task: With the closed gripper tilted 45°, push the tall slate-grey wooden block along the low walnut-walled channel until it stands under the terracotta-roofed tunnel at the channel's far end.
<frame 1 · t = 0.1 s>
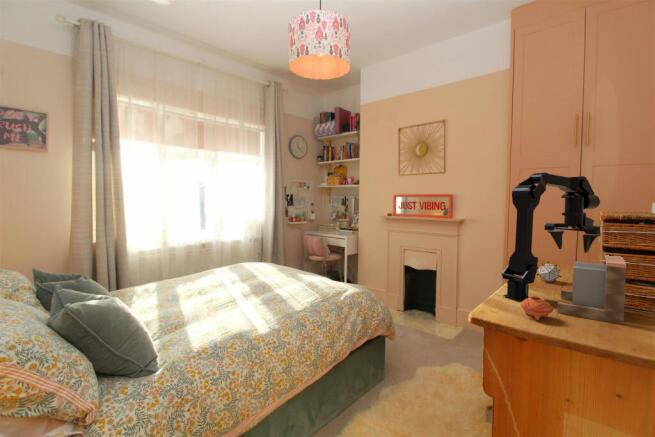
hand: (572, 250, 120), 15 cm above the table, tool pointing down, fingers open, 9 cm apart
tall block: (590, 310, 99), on the table
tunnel: (612, 313, 96), on the table
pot: (536, 318, 94), on the table
game die: (548, 282, 132), on the table
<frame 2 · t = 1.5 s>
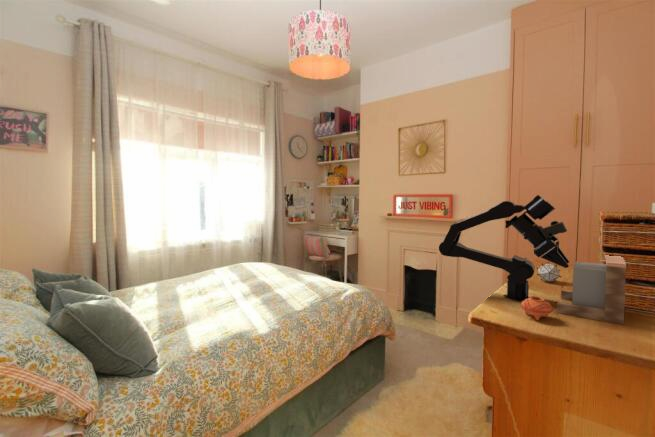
hand: (567, 265, 102), 13 cm above the table, tool tilted 45°, fingers open, 7 cm apart
nothing on the table moved.
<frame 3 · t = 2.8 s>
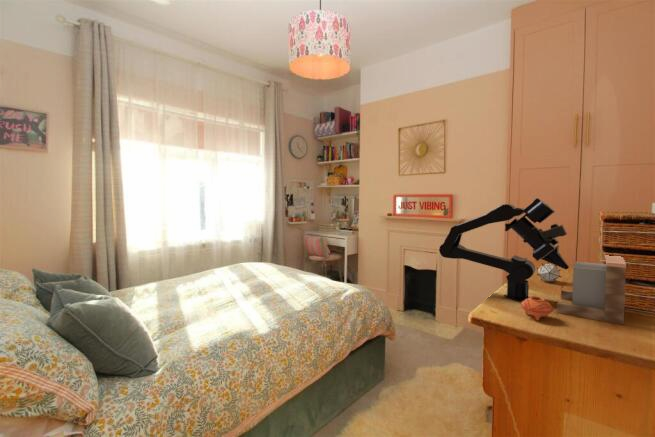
hand: (567, 268, 102), 12 cm above the table, tool tilted 45°, fingers closed
nothing on the table moved.
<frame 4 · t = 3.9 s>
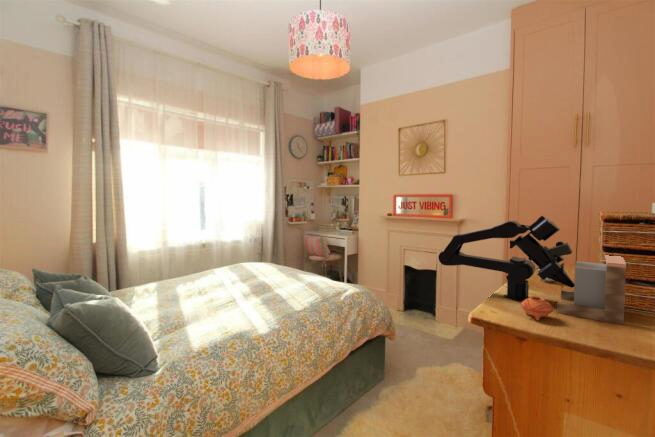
hand: (573, 286, 101), 7 cm above the table, tool tilted 45°, fingers closed, pressing on tall block
tall block: (592, 310, 99), on the table, touching gripper
everything else where it was.
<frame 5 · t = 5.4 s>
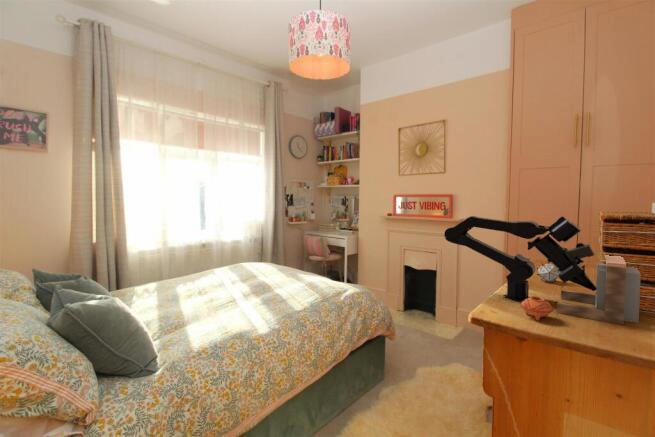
hand: (595, 289, 98), 7 cm above the table, tool tilted 45°, fingers closed
tall block: (615, 313, 96), on the table
everything else where it was.
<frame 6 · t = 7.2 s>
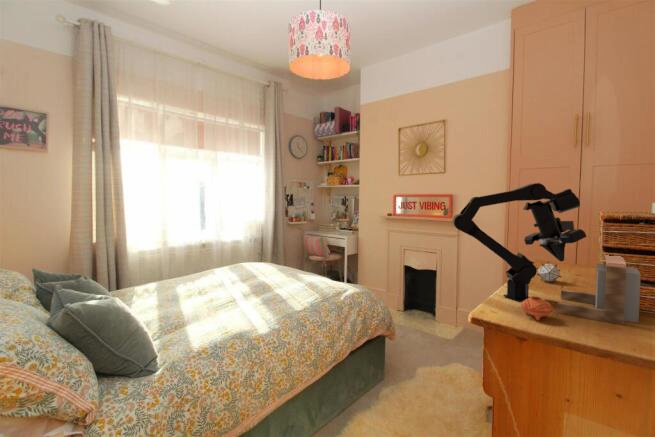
hand: (562, 260, 107), 14 cm above the table, tool tilted 20°, fingers closed
nothing on the table moved.
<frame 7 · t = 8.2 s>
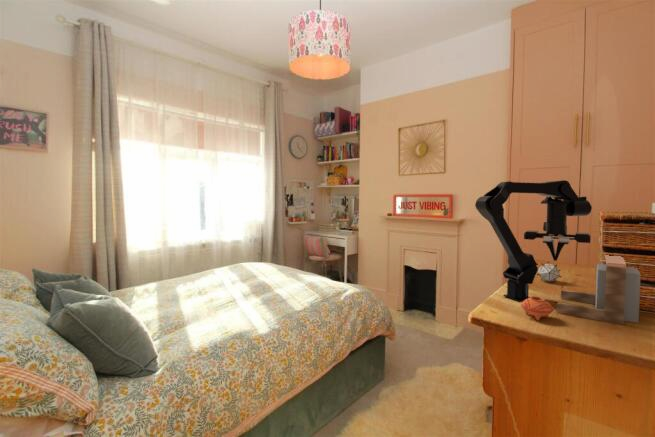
hand: (555, 260, 112), 13 cm above the table, tool pointing down, fingers closed
nothing on the table moved.
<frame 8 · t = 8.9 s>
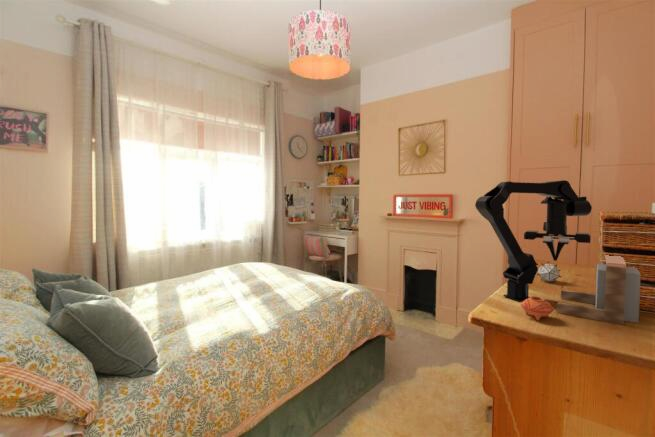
hand: (555, 260, 112), 13 cm above the table, tool pointing down, fingers closed
nothing on the table moved.
at the end: tall block 0.7 cm from the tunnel (horizontally); tall block tilted 0°; tall block moved 5.7 cm from its start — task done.
